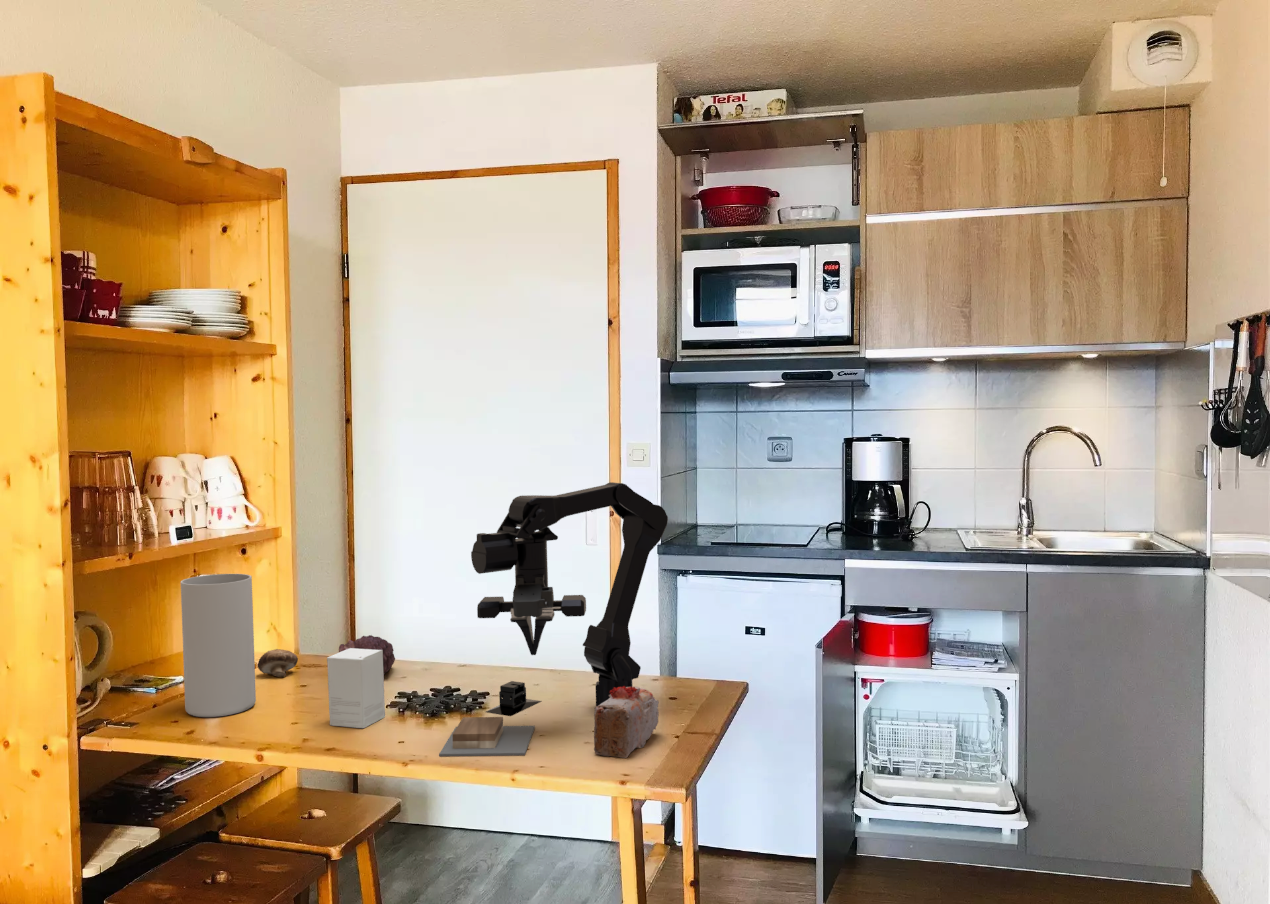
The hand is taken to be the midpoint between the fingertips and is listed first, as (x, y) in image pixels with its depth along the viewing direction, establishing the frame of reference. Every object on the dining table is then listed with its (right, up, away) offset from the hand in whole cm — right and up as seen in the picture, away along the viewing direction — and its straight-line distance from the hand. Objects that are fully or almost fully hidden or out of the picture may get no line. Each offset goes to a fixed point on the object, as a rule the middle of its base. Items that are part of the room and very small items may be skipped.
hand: (533, 654), depth 176 cm
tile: (-5, -12, -7) cm, 15 cm away
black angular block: (-5, -13, +13) cm, 19 cm away
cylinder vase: (-62, -14, +15) cm, 65 cm away
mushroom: (-59, -13, +39) cm, 72 cm away
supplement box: (-33, -14, +5) cm, 36 cm away
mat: (-7, -13, -7) cm, 17 cm away
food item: (+17, -13, -10) cm, 23 cm away
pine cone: (-38, -12, +35) cm, 53 cm away
